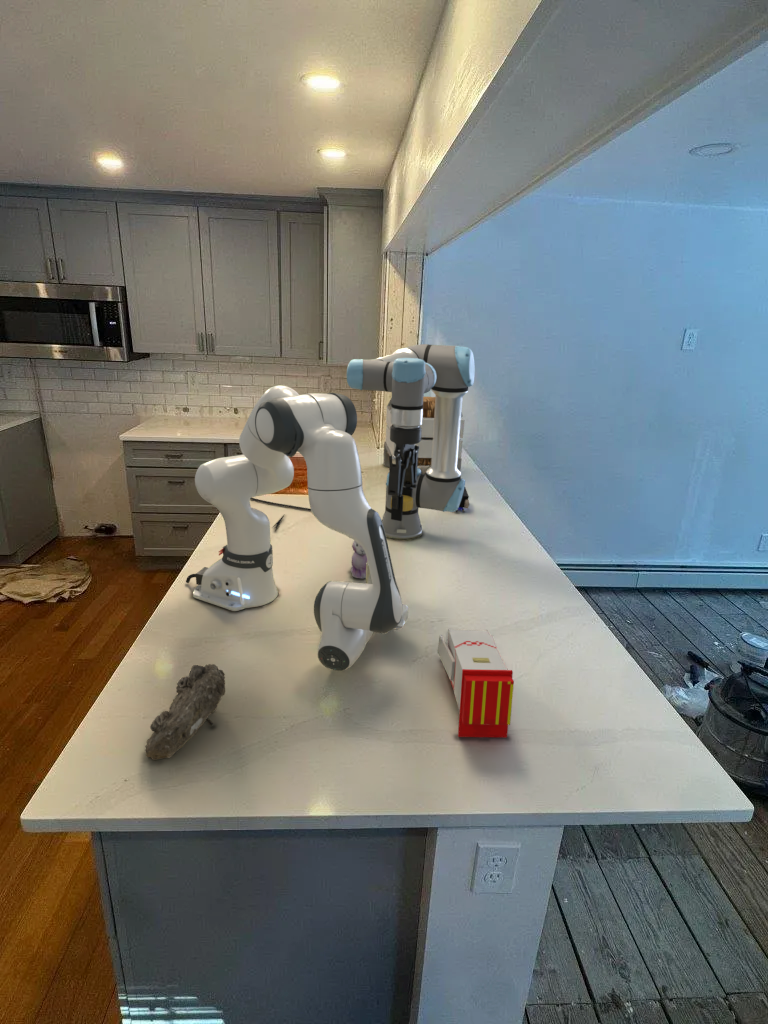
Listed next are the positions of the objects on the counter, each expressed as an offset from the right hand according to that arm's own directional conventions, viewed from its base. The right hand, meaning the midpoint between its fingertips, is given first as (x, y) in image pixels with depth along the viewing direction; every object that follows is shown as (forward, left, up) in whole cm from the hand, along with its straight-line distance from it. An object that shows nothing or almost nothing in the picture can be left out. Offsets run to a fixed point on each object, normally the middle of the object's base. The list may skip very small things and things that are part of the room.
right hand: (401, 515), depth 144 cm
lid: (0, 0, +4) cm, 4 cm away
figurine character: (-44, +73, -26) cm, 89 cm away
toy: (+37, -12, -26) cm, 46 cm away
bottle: (+2, -10, -26) cm, 27 cm away
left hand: (+1, -9, -19) cm, 21 cm away
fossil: (+11, -61, -26) cm, 67 cm away
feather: (-73, +9, -26) cm, 78 cm away
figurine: (-20, +5, -26) cm, 33 cm away
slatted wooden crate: (-90, +95, -26) cm, 133 cm away
